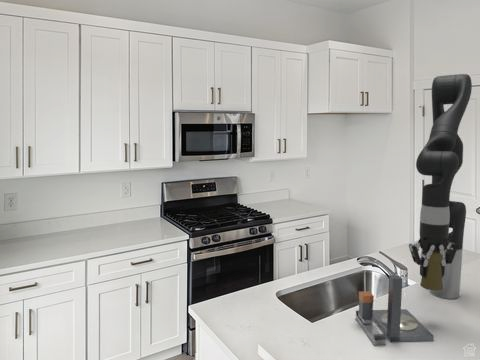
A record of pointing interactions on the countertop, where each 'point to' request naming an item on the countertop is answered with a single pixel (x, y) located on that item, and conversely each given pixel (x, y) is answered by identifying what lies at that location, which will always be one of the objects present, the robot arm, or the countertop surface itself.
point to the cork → (433, 273)
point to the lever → (366, 307)
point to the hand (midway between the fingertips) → (431, 277)
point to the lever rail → (372, 332)
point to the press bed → (399, 318)
